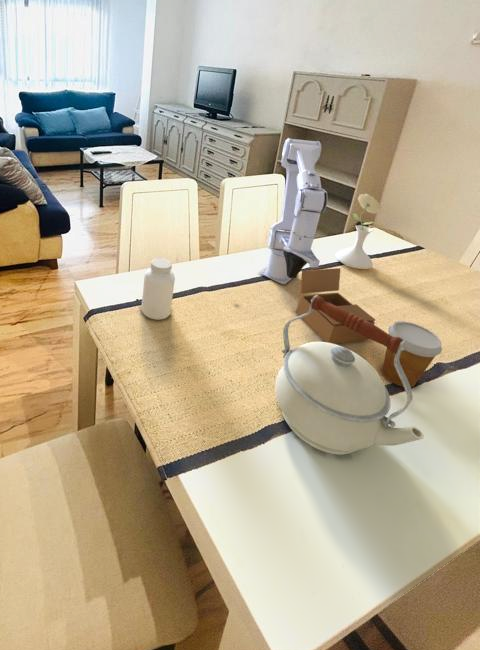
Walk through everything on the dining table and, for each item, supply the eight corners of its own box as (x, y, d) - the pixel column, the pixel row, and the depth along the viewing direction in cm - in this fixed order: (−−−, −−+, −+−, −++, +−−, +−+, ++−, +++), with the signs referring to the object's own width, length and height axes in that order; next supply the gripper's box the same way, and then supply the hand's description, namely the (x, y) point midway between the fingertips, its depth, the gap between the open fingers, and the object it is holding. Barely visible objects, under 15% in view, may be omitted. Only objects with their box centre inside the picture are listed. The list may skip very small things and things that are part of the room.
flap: (301, 293, 105) (300, 293, 105) (338, 290, 107) (337, 290, 108) (302, 271, 104) (301, 270, 104) (340, 268, 106) (339, 268, 107)
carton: (295, 312, 107) (300, 293, 105) (332, 308, 110) (338, 289, 107) (327, 344, 95) (334, 324, 93) (368, 339, 98) (376, 319, 96)
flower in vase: (378, 273, 130) (403, 204, 121) (345, 271, 130) (366, 202, 120) (356, 254, 142) (377, 190, 133) (326, 252, 142) (344, 189, 133)
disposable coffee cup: (414, 367, 90) (433, 326, 85) (430, 399, 81) (452, 355, 77) (368, 356, 92) (384, 315, 88) (379, 386, 84) (397, 342, 79)
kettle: (244, 403, 78) (268, 300, 68) (293, 365, 88) (321, 272, 79) (377, 517, 59) (436, 398, 50) (420, 453, 70) (476, 344, 60)
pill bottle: (174, 307, 106) (180, 260, 100) (164, 324, 99) (171, 274, 94) (147, 299, 109) (152, 252, 103) (136, 314, 102) (140, 265, 96)
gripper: (274, 222, 108) (264, 264, 113) (306, 246, 95) (294, 292, 100) (296, 221, 109) (285, 262, 114) (331, 245, 96) (318, 290, 101)
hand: (291, 276), depth 107 cm, fingers closed
